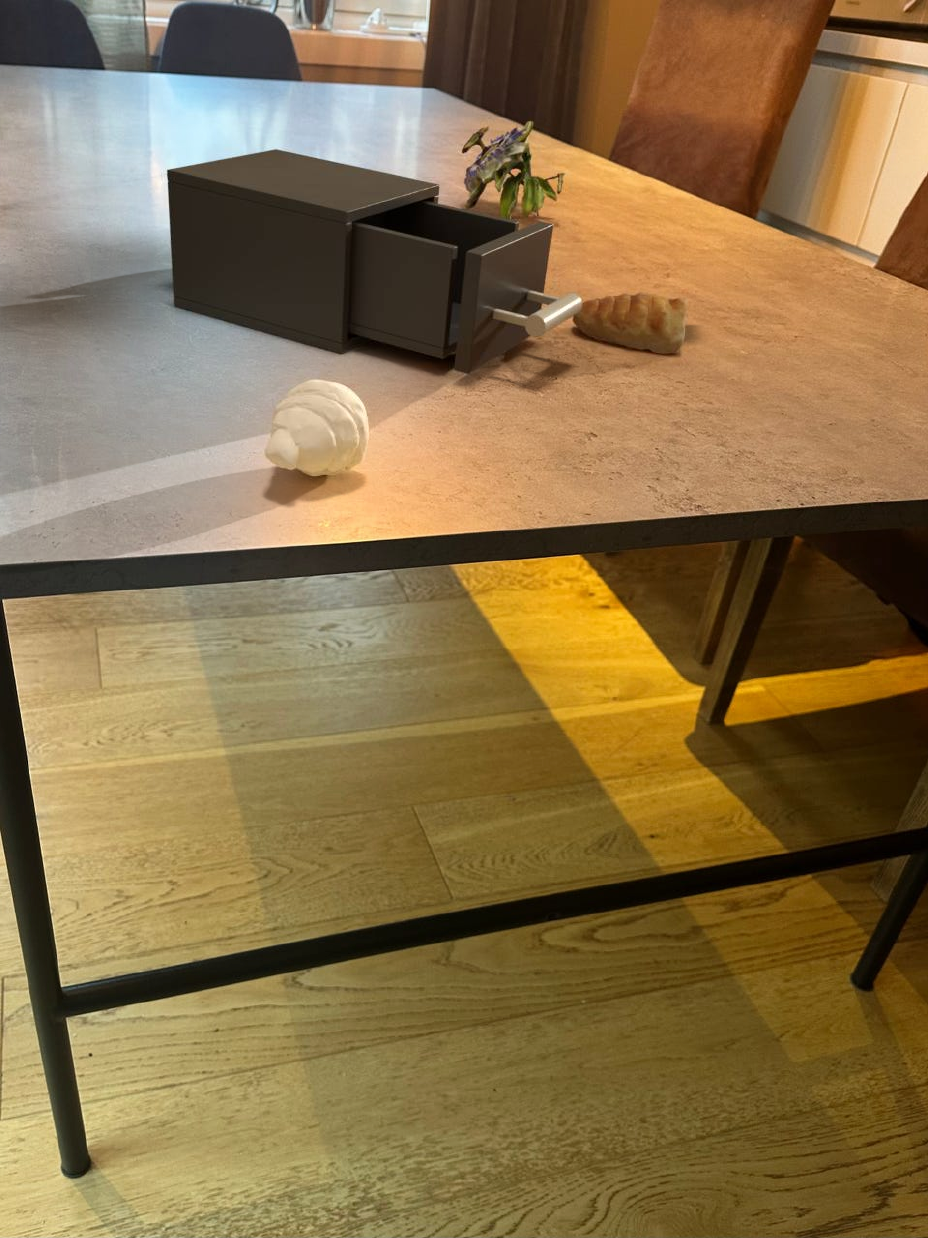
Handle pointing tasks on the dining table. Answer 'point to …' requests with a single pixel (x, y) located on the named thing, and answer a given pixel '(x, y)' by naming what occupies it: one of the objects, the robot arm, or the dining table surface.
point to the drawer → (451, 282)
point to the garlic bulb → (319, 429)
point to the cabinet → (276, 240)
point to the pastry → (635, 321)
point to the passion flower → (507, 172)
